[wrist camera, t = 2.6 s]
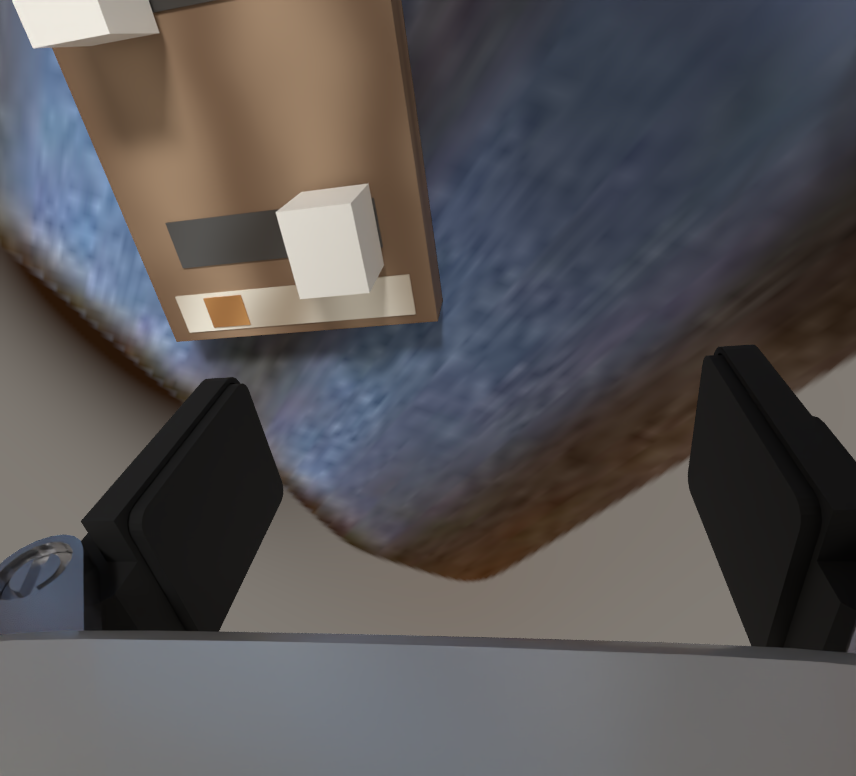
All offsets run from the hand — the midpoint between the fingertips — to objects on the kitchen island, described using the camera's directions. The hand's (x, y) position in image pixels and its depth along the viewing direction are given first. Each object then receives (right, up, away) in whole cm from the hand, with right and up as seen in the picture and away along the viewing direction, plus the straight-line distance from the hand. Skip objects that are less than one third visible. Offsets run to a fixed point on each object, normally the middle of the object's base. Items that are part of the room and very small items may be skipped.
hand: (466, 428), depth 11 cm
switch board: (-8, +13, +14) cm, 21 cm away
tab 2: (-5, +8, +14) cm, 17 cm away
